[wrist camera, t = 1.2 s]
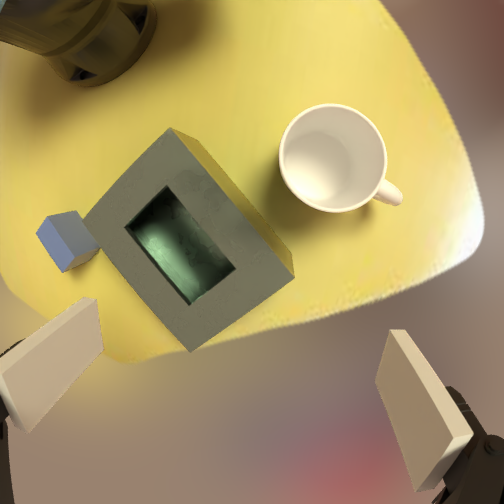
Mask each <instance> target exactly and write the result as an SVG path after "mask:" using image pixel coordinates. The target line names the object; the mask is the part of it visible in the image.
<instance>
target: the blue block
mask: <svg viewBox="0 0 504 504" xmlns="http://www.w3.org/2000/svg"><path fill="white" fill-rule="evenodd" d="M82 220H83V219H82V218H81V217H80V215H79V214H78V212H77V211H71V212H66V213H61V214H56V215H51V216H47V217H46V219H45V220H44V222H43V223H42V225H41V226H40V228H39V229H38V231H37V232H36V235H37V236H38V238H39V239H40V241H41V242H42V244H43V245H44V247H45V249H46V250H47V252H48V253H49V255H50V256H51V258H52V259H53V260H54V262H55V263H56V265H57V266H58V268H59V269H60V270H61V272H62V273H64V272H66V271H68V270H70V269H72V268H74V267H76V266H78V265H81V264H83V263H85V262H87V261H89V260H90V259H91V258H92V257H93V256H94V255H95V253H96V252H97V251H98V250H99V249H100V248H101V247H100V246H99V244H98V243H97V242H96V240H95V239H94V238H93V236H92V235H91V234H90V232H89V231H88V229H87V228H86V227H85V225H84V224H83V222H82Z"/></svg>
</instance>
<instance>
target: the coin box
mask: <svg viewBox="0 0 504 504" xmlns="http://www.w3.org/2000/svg"><path fill="white" fill-rule="evenodd" d="M82 222H83V224H84V225H85V227H86V228H87V229H88V231H89V232H90V234H91V235H92V236H93V238H94V239H95V240H96V242H97V243H98V244H99V246H100V247H101V248H102V250H103V251H104V252H105V254H106V255H107V256H108V258H109V259H110V260H111V261H112V263H113V264H114V265H115V267H116V268H117V269H118V270H119V272H120V273H121V274H122V275H123V277H124V278H125V279H126V280H127V282H128V283H129V284H130V285H131V286H132V288H133V289H134V290H135V291H136V292H137V294H138V295H139V296H140V297H141V298H142V300H143V301H144V302H145V303H146V304H147V305H148V307H149V308H150V309H151V310H152V311H153V312H154V314H155V315H156V316H157V317H158V318H159V319H160V320H161V321H162V323H163V324H164V325H165V326H166V327H167V328H168V329H169V330H170V331H171V333H172V334H173V335H174V336H175V337H176V338H177V339H178V340H179V341H180V342H181V343H182V344H183V345H184V347H185V348H186V349H187V350H188V351H189V352H192V351H193V350H195V349H196V348H198V347H199V346H201V345H202V344H203V343H205V342H206V341H208V340H209V339H211V338H212V337H214V336H215V335H216V334H218V333H219V332H221V331H222V330H224V329H225V328H227V327H228V326H229V325H231V324H232V323H234V322H235V321H236V320H238V319H239V318H241V317H242V316H243V315H245V314H246V313H248V312H249V311H250V310H252V309H253V308H255V307H256V306H257V305H259V304H260V303H262V302H263V301H264V300H266V299H267V298H268V297H270V296H271V295H272V294H274V293H275V292H277V291H278V290H279V289H281V288H282V287H283V286H285V285H286V284H287V283H289V282H290V281H291V280H293V279H294V278H295V276H294V269H293V261H292V254H291V252H290V251H289V250H288V249H287V247H286V246H285V245H284V244H283V242H282V241H281V240H280V239H279V238H278V236H277V235H276V234H275V233H274V231H273V230H272V229H271V228H270V226H269V225H268V224H267V223H266V222H265V220H264V219H263V218H262V217H261V215H260V214H259V213H258V212H257V211H256V209H255V208H254V207H253V206H252V204H251V203H250V202H249V201H248V200H247V198H246V197H245V196H244V195H243V194H242V192H241V191H240V190H239V189H238V188H237V186H236V185H235V184H234V183H233V182H232V180H231V179H230V178H229V177H228V176H227V174H226V173H225V172H224V171H223V170H222V168H221V167H220V166H219V165H218V164H217V163H216V161H215V160H214V159H213V158H212V157H211V155H210V154H209V153H208V152H207V151H206V150H205V148H204V147H203V146H202V145H201V144H200V143H199V141H198V140H196V139H194V138H192V137H190V136H187V135H185V134H183V133H181V132H179V131H177V130H174V129H172V128H169V129H168V130H167V131H166V132H165V133H164V134H163V135H161V136H160V137H159V138H158V139H157V140H156V141H155V142H154V143H153V144H152V145H151V146H150V147H149V148H148V149H147V150H146V151H145V152H144V153H143V154H142V155H141V156H140V157H139V158H138V159H137V160H136V161H135V162H134V163H133V164H132V165H131V166H130V167H129V168H128V169H127V170H126V171H125V173H124V174H123V175H122V176H121V177H120V178H119V179H118V180H117V181H116V182H115V183H114V184H113V185H112V187H111V188H110V189H109V190H108V191H107V192H106V193H105V194H104V196H103V197H102V198H101V199H100V200H99V201H98V202H97V204H96V205H95V206H94V207H93V208H92V209H91V211H90V212H89V213H88V214H87V215H86V217H85V218H84V219H83V220H82Z"/></svg>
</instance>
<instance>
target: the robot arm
mask: <svg viewBox="0 0 504 504" xmlns="http://www.w3.org/2000/svg"><path fill="white" fill-rule="evenodd" d="M155 26H156V11H155V7H154V5H153V3H152V2H151V1H150V0H0V41H3V42H6V43H9V44H12V45H15V46H17V47H20V48H23V49H26V50H29V51H31V52H34V53H37V54H39V55H42V56H43V57H44V58H45V59H46V60H47V62H48V63H49V64H50V65H51V67H52V68H53V69H54V70H55V71H56V73H57V74H58V75H59V76H60V77H61V78H62V79H64V80H66V81H68V82H70V83H73V84H75V85H78V86H83V87H92V86H97V85H101V84H104V83H106V82H108V81H110V80H112V79H114V78H116V77H118V76H119V75H121V74H122V73H123V72H125V71H126V70H127V69H128V68H129V67H130V66H132V65H133V64H134V63H135V62H136V60H137V59H138V58H139V57H140V56H141V55H142V53H143V52H144V50H145V49H146V47H147V46H148V44H149V42H150V40H151V38H152V36H153V33H154V30H155ZM103 350H104V347H103V341H102V335H101V329H100V322H99V314H98V306H97V299H92V298H87V297H83V298H82V299H80V300H79V301H77V302H76V303H74V304H73V305H72V306H70V307H69V308H67V309H66V310H64V311H63V312H62V313H60V314H59V315H57V316H56V317H55V318H53V319H52V320H50V321H49V322H48V323H46V324H45V325H43V326H42V327H41V328H39V329H38V330H37V331H35V332H34V333H33V334H31V335H30V336H28V337H27V338H25V339H23V340H20V341H18V342H17V343H16V344H14V345H13V346H11V347H10V349H7V350H6V351H5V352H4V354H3V353H2V354H1V355H0V504H15V503H14V498H13V490H12V483H11V474H10V464H9V450H8V426H7V423H6V421H5V419H6V417H8V415H9V416H10V418H11V420H12V422H13V424H14V426H15V427H17V428H19V429H20V430H22V431H24V432H26V433H28V434H29V433H30V431H31V430H32V429H33V428H34V427H35V426H36V424H37V423H38V422H39V421H40V420H41V419H42V418H43V416H44V415H45V414H46V413H47V412H48V411H49V410H50V408H51V407H52V406H53V405H54V404H55V403H56V402H57V400H58V399H59V398H60V397H61V396H62V395H63V394H64V393H65V392H66V391H67V389H68V388H69V387H70V386H71V385H72V384H73V383H74V382H75V381H76V379H77V378H78V377H79V376H80V375H81V374H82V373H83V372H84V371H85V370H86V369H87V367H88V366H89V365H90V364H91V363H92V362H93V361H94V360H95V359H96V358H97V357H98V355H99V354H100V353H101V352H102V351H103ZM375 383H376V385H377V388H378V390H379V393H380V396H381V398H382V401H383V403H384V406H385V409H386V411H387V414H388V416H389V419H390V422H391V424H392V427H393V430H394V432H395V435H396V438H397V441H398V444H399V446H400V449H401V452H402V455H403V458H404V460H405V464H406V467H407V470H408V472H409V475H410V479H411V482H412V485H413V488H414V491H415V492H421V491H425V490H430V489H434V488H435V487H436V486H437V485H438V483H439V482H440V481H441V479H442V478H443V480H444V482H445V485H446V486H445V487H444V488H443V490H442V491H441V492H440V493H439V494H438V495H437V497H436V498H435V499H434V500H433V501H432V504H434V503H435V502H436V503H435V504H504V439H503V438H501V437H499V436H496V435H487V433H486V432H485V431H484V429H483V427H482V426H481V424H480V423H479V421H478V420H477V418H476V417H475V415H474V413H473V412H472V411H471V409H470V407H469V406H468V404H466V402H465V400H464V398H463V397H462V395H461V394H460V393H459V392H458V391H456V390H455V389H454V388H452V387H451V386H449V387H444V385H443V384H442V382H441V381H440V379H439V378H438V377H437V375H436V373H435V372H434V371H433V369H432V368H431V366H430V365H429V363H428V362H427V360H426V359H425V357H424V356H423V354H422V353H421V352H420V350H419V349H418V347H417V346H416V345H415V343H414V342H413V340H412V339H411V338H410V336H409V335H408V334H407V332H406V331H405V330H389V334H388V338H387V341H386V345H385V349H384V352H383V355H382V359H381V362H380V365H379V369H378V372H377V375H376V378H375Z"/></svg>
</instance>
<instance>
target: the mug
mask: <svg viewBox="0 0 504 504" xmlns="http://www.w3.org/2000/svg"><path fill="white" fill-rule="evenodd" d="M279 167H280V173H281V176H282V178H283V181H284V183H285V184H286V186H287V187H288V189H289V190H290V191H291V192H292V193H293V194H294V195H295V196H296V197H297V198H299V199H300V200H301V201H302V202H304V203H305V204H307V205H309V206H310V207H313V208H315V209H317V210H321V211H324V212H331V213H340V212H347V211H351V210H354V209H356V208H359V207H361V206H362V205H364V204H365V203H367V202H368V201H369V200H370V199H371V198H374V199H376V200H378V201H381V202H383V203H386V204H389V205H393V206H397V205H399V204H401V202H402V201H403V195H402V193H401V191H400V190H399V189H398V188H397V187H395V186H394V185H393V184H391V183H390V182H388V181H387V180H386V179H384V178H385V174H386V170H387V153H386V148H385V144H384V141H383V139H382V136H381V135H380V133H379V131H378V129H377V128H376V127H375V125H374V124H373V123H372V122H371V121H370V120H369V119H368V118H367V117H366V116H364V115H363V114H362V113H360V112H358V111H357V110H355V109H353V108H350V107H347V106H344V105H339V104H321V105H316V106H313V107H310V108H308V109H306V110H304V111H303V112H301V113H300V114H298V115H297V116H296V117H295V118H294V119H293V120H292V121H291V122H290V123H289V125H288V126H287V128H286V129H285V131H284V133H283V136H282V138H281V142H280V146H279Z"/></svg>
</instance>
